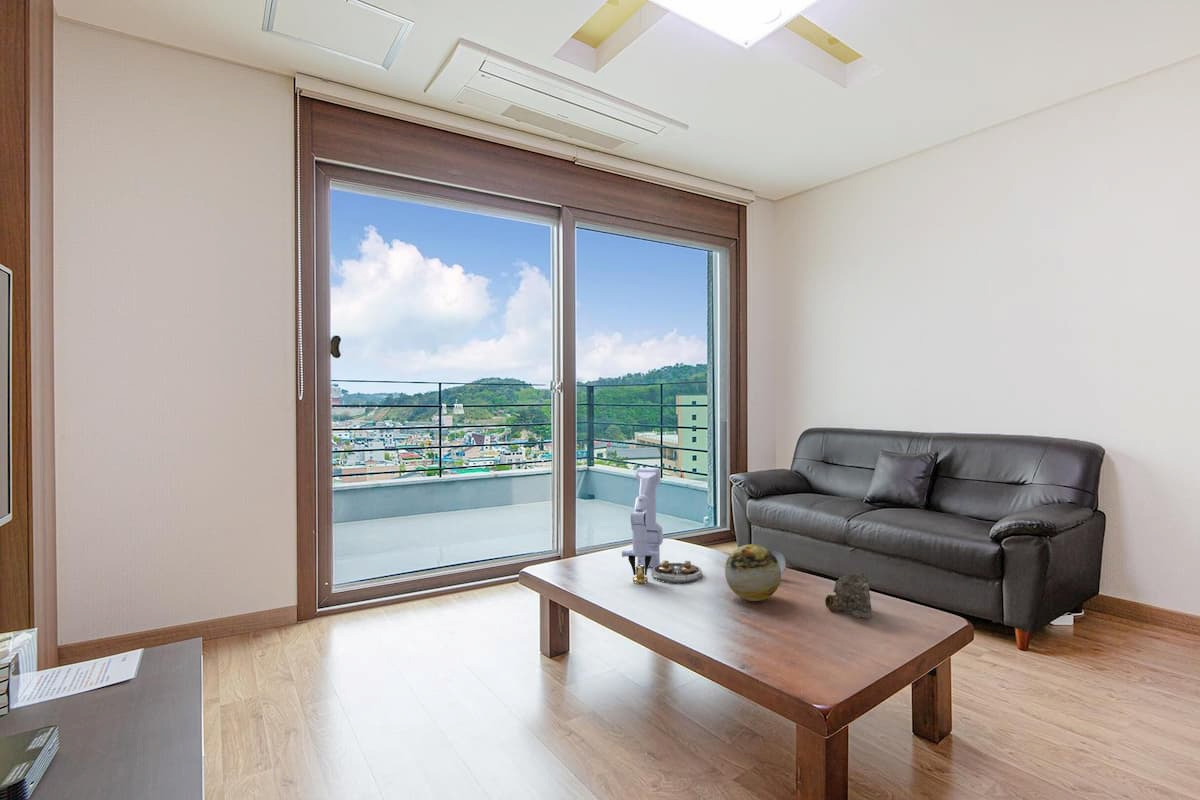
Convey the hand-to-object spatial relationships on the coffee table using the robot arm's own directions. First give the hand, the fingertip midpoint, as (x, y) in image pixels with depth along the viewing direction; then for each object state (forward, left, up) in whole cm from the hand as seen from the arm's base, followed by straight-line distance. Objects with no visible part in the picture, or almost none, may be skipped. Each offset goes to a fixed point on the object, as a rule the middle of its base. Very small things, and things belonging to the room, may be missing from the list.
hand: (640, 574), depth 245 cm
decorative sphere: (+46, -1, -3) cm, 46 cm away
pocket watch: (+44, +23, -3) cm, 50 cm away
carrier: (+10, +14, -3) cm, 17 cm away
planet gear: (0, 0, -3) cm, 3 cm away
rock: (+79, 0, -3) cm, 79 cm away
